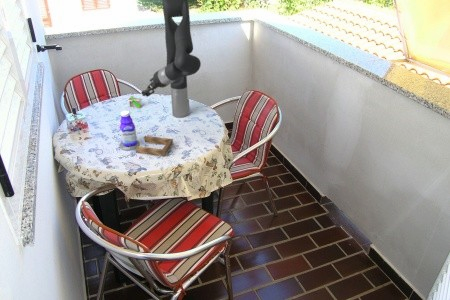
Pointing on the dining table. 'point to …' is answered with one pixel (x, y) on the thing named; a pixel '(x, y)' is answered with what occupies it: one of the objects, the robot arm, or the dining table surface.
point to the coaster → (129, 146)
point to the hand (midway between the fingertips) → (147, 87)
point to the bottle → (127, 130)
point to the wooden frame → (155, 151)
